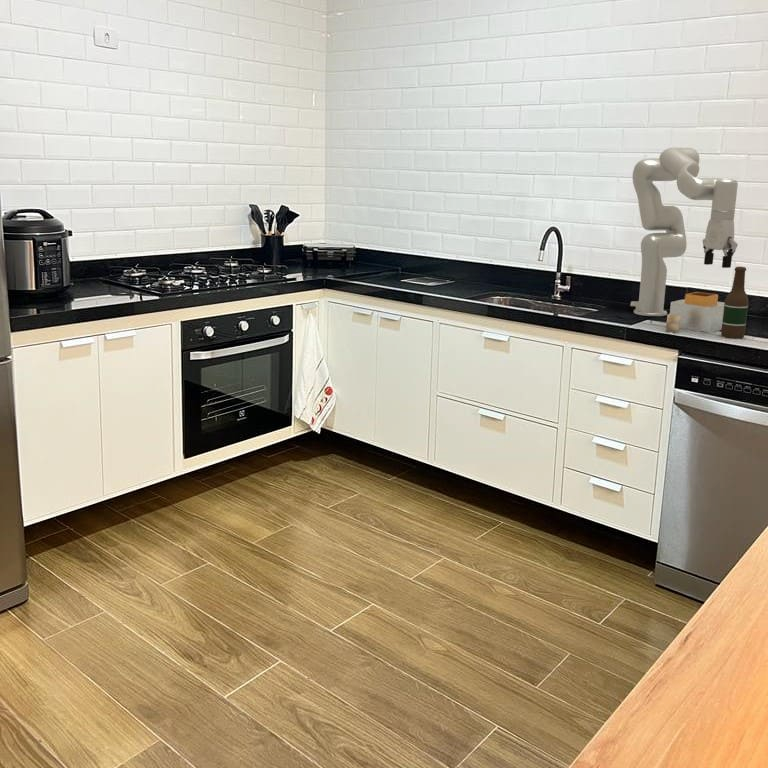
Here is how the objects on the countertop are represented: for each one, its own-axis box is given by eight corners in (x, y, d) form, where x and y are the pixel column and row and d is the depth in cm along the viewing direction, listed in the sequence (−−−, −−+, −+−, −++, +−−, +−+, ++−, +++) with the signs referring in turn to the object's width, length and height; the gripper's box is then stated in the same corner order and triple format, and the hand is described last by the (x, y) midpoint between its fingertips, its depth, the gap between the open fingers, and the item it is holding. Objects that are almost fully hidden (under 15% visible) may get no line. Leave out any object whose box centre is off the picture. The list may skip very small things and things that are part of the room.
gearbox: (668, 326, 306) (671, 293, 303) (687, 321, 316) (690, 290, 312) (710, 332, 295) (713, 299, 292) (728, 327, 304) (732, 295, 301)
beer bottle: (747, 339, 285) (755, 268, 279) (723, 338, 286) (731, 268, 280) (741, 334, 292) (750, 265, 286) (718, 333, 294) (726, 265, 288)
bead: (663, 331, 297) (665, 314, 295) (669, 330, 300) (671, 313, 298) (674, 333, 294) (676, 316, 292) (681, 331, 297) (682, 315, 295)
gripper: (697, 214, 294) (692, 263, 299) (729, 217, 278) (723, 269, 282) (715, 214, 296) (710, 263, 300) (748, 217, 280) (742, 268, 284)
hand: (717, 266), depth 291 cm, fingers open, 9 cm apart
